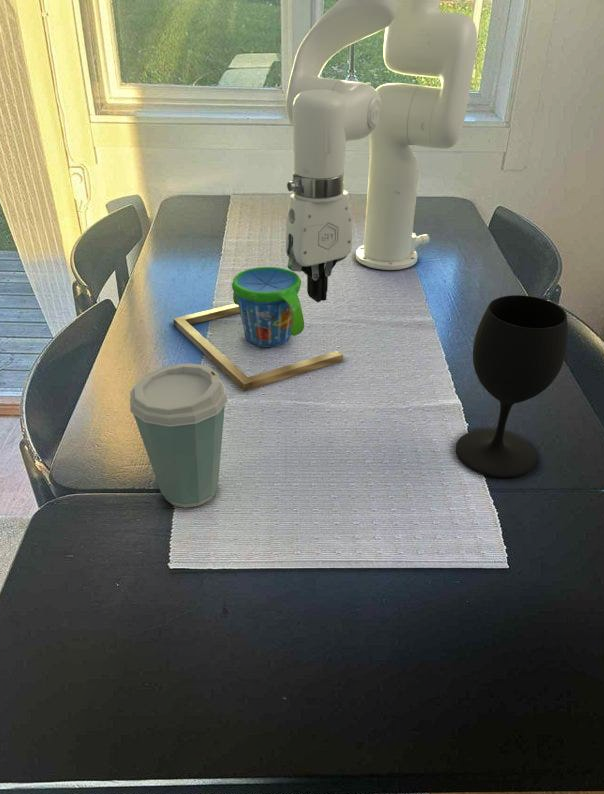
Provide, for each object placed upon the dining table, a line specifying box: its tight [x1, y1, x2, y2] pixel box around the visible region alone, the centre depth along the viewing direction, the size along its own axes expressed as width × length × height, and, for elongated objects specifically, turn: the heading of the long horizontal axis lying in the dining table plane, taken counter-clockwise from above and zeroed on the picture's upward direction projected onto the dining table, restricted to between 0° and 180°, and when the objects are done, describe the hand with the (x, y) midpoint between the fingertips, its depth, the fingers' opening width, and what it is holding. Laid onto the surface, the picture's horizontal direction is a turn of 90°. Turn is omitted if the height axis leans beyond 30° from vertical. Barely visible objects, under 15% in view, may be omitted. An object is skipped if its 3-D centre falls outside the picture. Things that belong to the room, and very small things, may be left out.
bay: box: [172, 303, 344, 392], centre depth 114 cm, size 18×25×1 cm
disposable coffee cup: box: [129, 362, 229, 509], centre depth 80 cm, size 11×11×15 cm
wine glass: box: [454, 294, 569, 479], centre depth 85 cm, size 10×10×20 cm
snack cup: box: [231, 266, 305, 348], centre depth 112 cm, size 16×10×10 cm
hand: (317, 298), depth 117 cm, fingers closed
